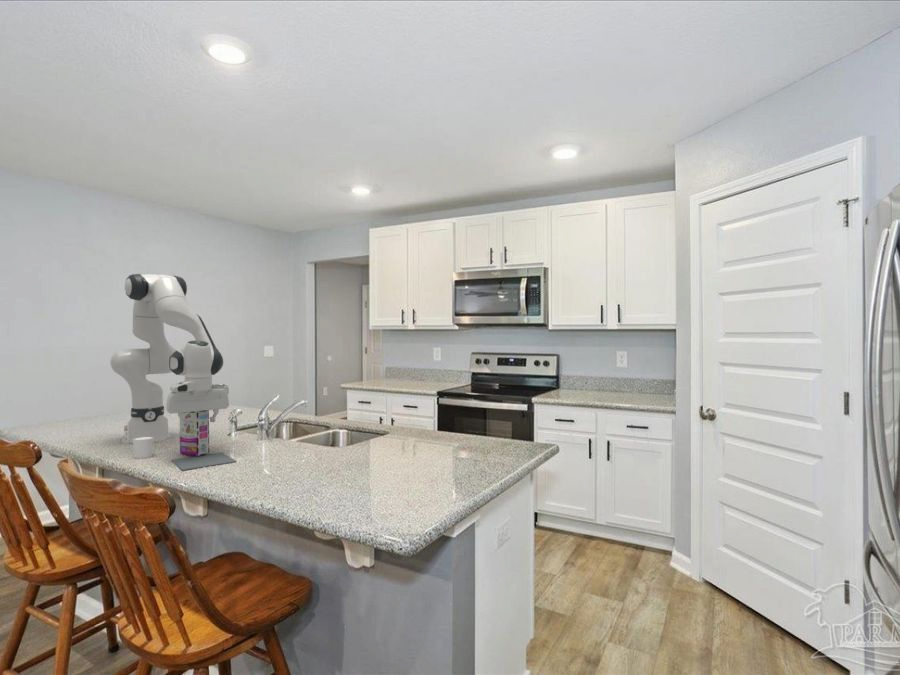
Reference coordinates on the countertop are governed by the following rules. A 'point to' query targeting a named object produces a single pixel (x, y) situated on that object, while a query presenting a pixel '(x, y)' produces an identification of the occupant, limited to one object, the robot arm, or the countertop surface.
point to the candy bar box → (195, 433)
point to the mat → (202, 461)
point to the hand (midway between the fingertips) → (198, 423)
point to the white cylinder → (143, 447)
